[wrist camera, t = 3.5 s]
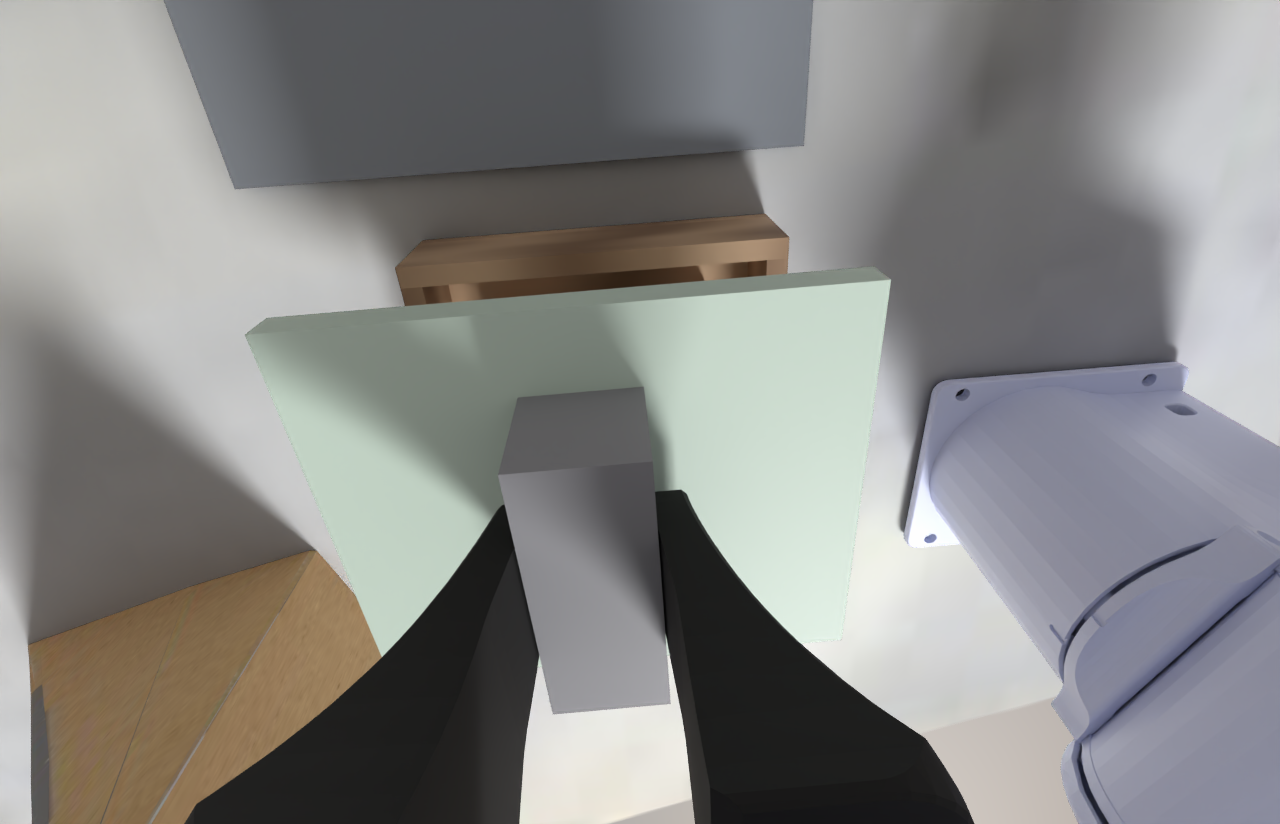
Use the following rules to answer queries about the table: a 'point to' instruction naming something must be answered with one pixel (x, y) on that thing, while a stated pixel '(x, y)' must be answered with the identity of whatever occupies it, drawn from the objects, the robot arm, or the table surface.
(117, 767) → the sandwich container
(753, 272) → the walnut box
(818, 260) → the table surface
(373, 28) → the slate mat
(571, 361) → the lid
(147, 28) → the table surface
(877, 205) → the table surface
